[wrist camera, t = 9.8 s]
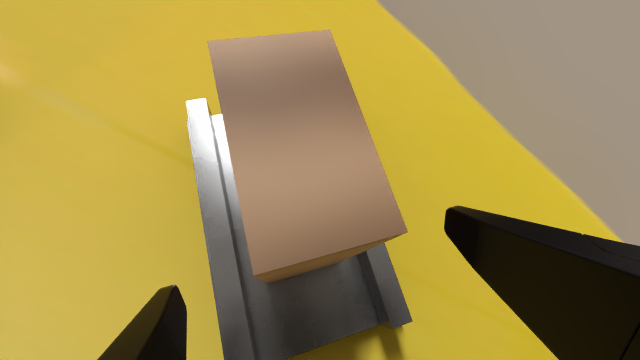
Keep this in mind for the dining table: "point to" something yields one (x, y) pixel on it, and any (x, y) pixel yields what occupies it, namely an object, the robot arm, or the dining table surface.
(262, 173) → the brown wooden block
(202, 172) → the door track
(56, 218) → the dining table surface
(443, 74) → the dining table surface
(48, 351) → the dining table surface
